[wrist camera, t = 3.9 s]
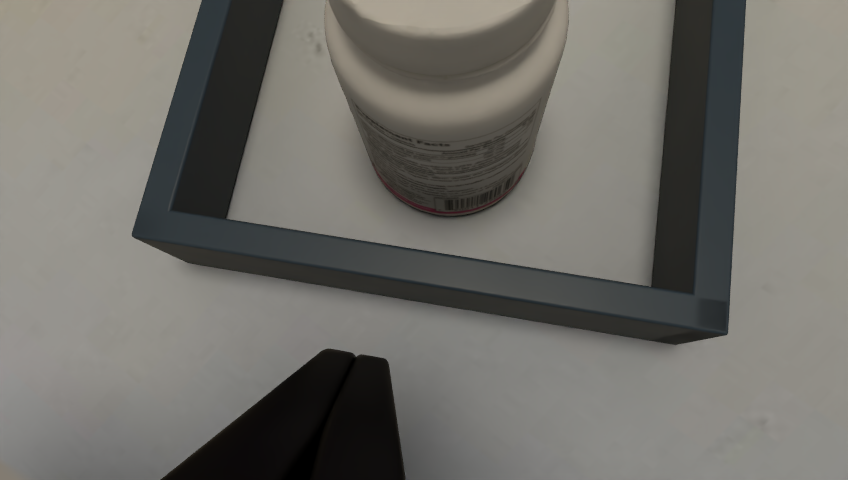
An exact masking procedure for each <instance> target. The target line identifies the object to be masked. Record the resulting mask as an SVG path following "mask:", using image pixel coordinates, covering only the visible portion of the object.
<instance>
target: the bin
mask: <svg viewBox="0 0 848 480" xmlns="http://www.w3.org/2000/svg"><path fill="white" fill-rule="evenodd" d="M282 1H283V0H202V2H201V5H200V9H199V12H198V15H197V19H196V22H195V25H194V29H193V32H192V35H191V39H190V42H189V45H188V49H187V52H186V55H185V59H184V62H183V65H182V69H181V72H180V75H179V79H178V82H177V85H176V89H175V92H174V95H173V98H172V102H171V105H170V108H169V112H168V115H167V118H166V122H165V125H164V128H163V132H162V135H161V138H160V142H159V145H158V148H157V152H156V155H155V158H154V162H153V165H152V168H151V172H150V175H149V178H148V182H147V185H146V188H145V192H144V195H143V198H142V202H141V205H140V208H139V212H138V215H137V218H136V221H135V225H134V228H133V231H132V237H134V238H136V239H138V240H140V241H142V242H144V243H146V244H148V245H151V246H153V247H155V248H157V249H159V250H161V251H164V252H166V253H168V254H170V255H172V256H174V257H177V258H179V259H181V260H183V261H185V262H187V263H192V264H198V265H204V266H210V267H216V268H222V269H228V270H234V271H240V272H246V273H252V274H258V275H264V276H270V277H276V278H282V279H288V280H294V281H300V282H306V283H312V284H318V285H324V286H329V287H335V288H341V289H347V290H353V291H359V292H365V293H371V294H377V295H383V296H389V297H395V298H401V299H407V300H413V301H419V302H425V303H431V304H437V305H443V306H449V307H455V308H460V309H466V310H472V311H478V312H484V313H490V314H496V315H502V316H508V317H514V318H520V319H526V320H532V321H538V322H544V323H550V324H556V325H562V326H568V327H574V328H580V329H586V330H591V331H597V332H603V333H609V334H615V335H621V336H627V337H633V338H639V339H645V340H651V341H657V342H663V343H669V344H674V345H677V344H682V343H688V342H693V341H698V340H703V339H708V338H714V337H719V336H724V335H727V334H728V323H729V305H730V286H731V268H732V250H733V231H734V213H735V194H736V176H737V158H738V139H739V121H740V102H741V84H742V66H743V47H744V29H745V10H746V0H677V2H676V13H675V25H674V37H673V48H672V60H671V71H670V83H669V95H668V106H667V118H666V130H665V141H664V153H663V165H662V176H661V188H660V200H659V211H658V223H657V235H656V246H655V258H654V270H653V281H652V287H649V286H643V285H637V284H630V283H624V282H618V281H612V280H605V279H599V278H593V277H587V276H580V275H574V274H568V273H561V272H555V271H549V270H543V269H536V268H530V267H524V266H518V265H511V264H505V263H499V262H493V261H486V260H480V259H474V258H467V257H461V256H455V255H449V254H442V253H436V252H430V251H424V250H417V249H411V248H405V247H399V246H392V245H386V244H380V243H373V242H367V241H361V240H355V239H348V238H342V237H336V236H330V235H323V234H317V233H311V232H305V231H298V230H292V229H286V228H279V227H273V226H267V225H261V224H254V223H248V222H242V221H236V220H229V219H225V216H226V213H227V209H228V205H229V201H230V197H231V194H232V190H233V186H234V182H235V179H236V175H237V171H238V167H239V163H240V160H241V156H242V152H243V148H244V144H245V141H246V137H247V133H248V129H249V126H250V122H251V118H252V114H253V110H254V107H255V103H256V99H257V95H258V91H259V88H260V84H261V80H262V76H263V73H264V69H265V65H266V61H267V57H268V54H269V50H270V46H271V42H272V39H273V35H274V31H275V27H276V23H277V20H278V16H279V12H280V8H281V4H282Z"/></svg>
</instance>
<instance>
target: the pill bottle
mask: <svg viewBox="0 0 848 480" xmlns="http://www.w3.org/2000/svg"><path fill="white" fill-rule="evenodd" d="M568 24H569V9H568V0H327V1H326V6H325V35H326V41H327V46H328V50H329V53H330V57H331V61H332V64H333V67H334V69H335V72H336V75H337V77H338V80H339V82H340V85H341V87H342V90H343V92H344V94H345V97H346V99H347V102H348V104H349V107H350V110H351V112H352V114H353V117H354V119H355V122H356V124H357V127H358V129H359V132H360V134H361V137H362V139H363V142H364V144H365V147H366V150H367V152H368V155H369V157H370V160H371V162H372V165H373V167H374V169H375V171H376V173H377V175H378V176H379V178H380V179H381V181H382V182H383V184H384V185H385V186H386V187H387V188H388V189H389V190H390V191H391V192H392V193H393V194H394V195H395V196H396V197H398V198H399V199H400V200H402V201H403V202H405V203H407V204H408V205H410V206H412V207H414V208H416V209H419V210H421V211H424V212H428V213H431V214H436V215H444V216H456V215H464V214H469V213H473V212H477V211H480V210H482V209H485V208H487V207H489V206H491V205H493V204H494V203H496V202H498V201H499V200H500V199H502V198H503V197H504V196H506V195H507V194H508V193H509V192H510V191H511V190H512V189H513V188H514V186H515V185H516V184H517V183H518V181H519V180H520V179H521V177H522V175H523V174H524V172H525V170H526V168H527V166H528V163H529V161H530V158H531V155H532V152H533V149H534V145H535V141H536V136H537V133H538V130H539V126H540V124H541V120H542V117H543V114H544V110H545V107H546V104H547V101H548V98H549V95H550V92H551V88H552V85H553V82H554V79H555V76H556V73H557V70H558V66H559V63H560V60H561V57H562V54H563V51H564V47H565V43H566V39H567V31H568Z"/></svg>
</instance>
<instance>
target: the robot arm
mask: <svg viewBox="0 0 848 480" xmlns="http://www.w3.org/2000/svg"><path fill="white" fill-rule="evenodd" d="M161 480H406V479H405V472H404V465H403V458H402V451H401V445H400V438H399V431H398V424H397V417H396V410H395V404H394V397H393V390H392V383H391V376H390V369H389V364H388V361H387V360H386V359H384V358H379V357H373V356H368V355H359V356H357V357H356V356H355V355H354V354H353V353H351V352H345V351H340V350H334V349H325V350H323V351H321V352H320V353H319V354H317V355H316V356H315V357H314V358H312V359H311V360H310V361H309V362H307V363H306V364H305V365H304V366H302V367H301V368H300V369H299V370H297V371H296V372H295V373H294V374H292V375H291V376H290V377H289V378H287V379H286V380H285V381H284V382H282V383H281V384H280V385H279V386H277V387H276V388H275V389H274V390H272V391H271V392H270V393H269V394H267V395H266V396H265V397H263V398H262V399H261V400H260V401H258V402H257V403H256V404H255V405H253V406H252V407H251V408H250V409H248V410H247V411H246V412H245V413H243V414H242V415H241V416H240V417H238V418H237V419H236V420H235V421H233V422H232V423H231V424H230V425H228V426H227V427H226V428H225V429H223V430H222V431H221V432H220V433H218V434H217V435H216V436H215V437H213V438H212V439H211V440H210V441H208V442H207V443H206V444H205V445H203V446H202V447H201V448H200V449H198V450H197V451H196V452H195V453H193V454H192V455H191V456H190V457H188V458H187V459H186V460H185V461H183V462H182V463H181V464H180V465H178V466H177V467H176V468H175V469H173V470H172V471H171V472H170V473H168V474H167V475H166V476H165V477H163V478H162V479H161Z"/></svg>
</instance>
